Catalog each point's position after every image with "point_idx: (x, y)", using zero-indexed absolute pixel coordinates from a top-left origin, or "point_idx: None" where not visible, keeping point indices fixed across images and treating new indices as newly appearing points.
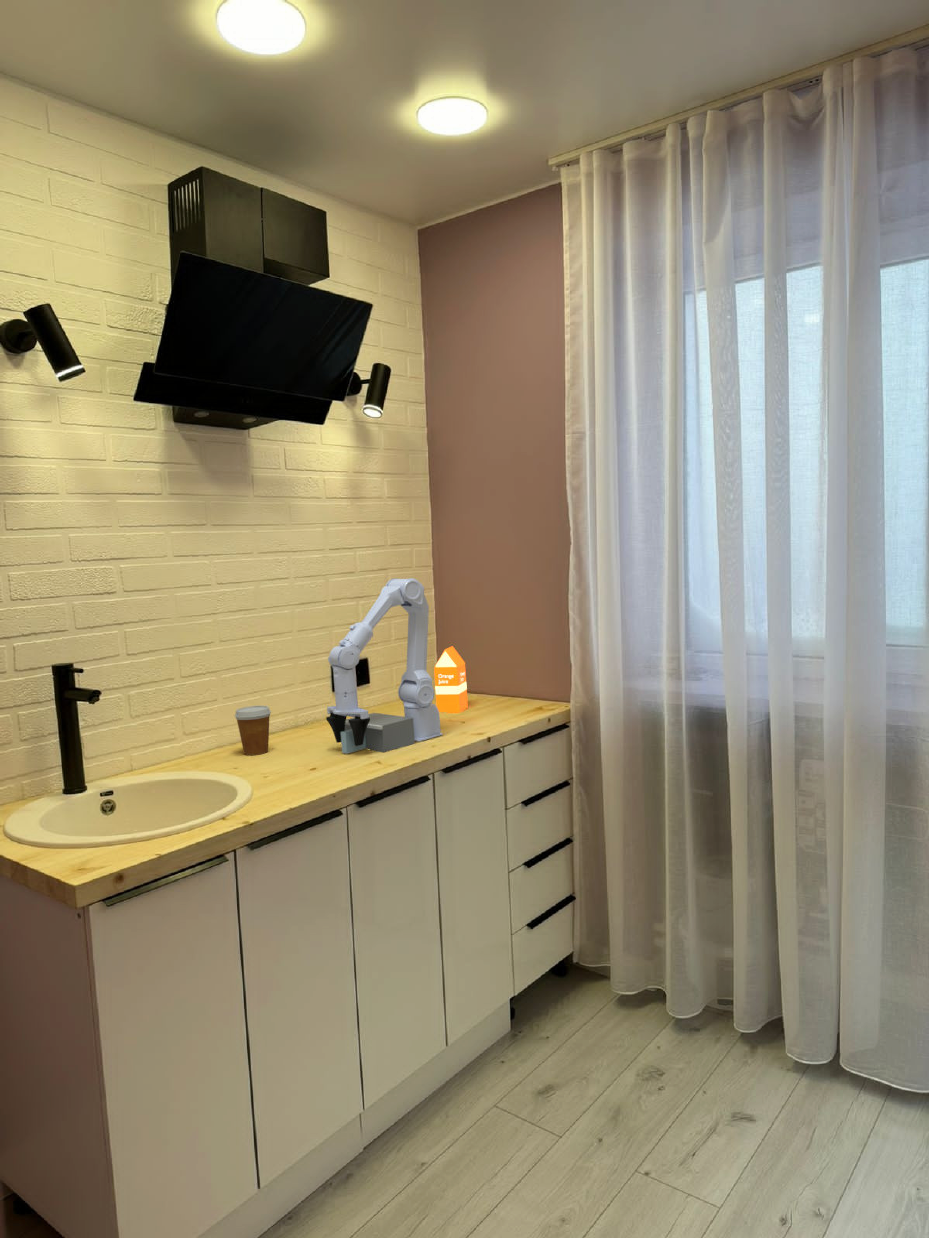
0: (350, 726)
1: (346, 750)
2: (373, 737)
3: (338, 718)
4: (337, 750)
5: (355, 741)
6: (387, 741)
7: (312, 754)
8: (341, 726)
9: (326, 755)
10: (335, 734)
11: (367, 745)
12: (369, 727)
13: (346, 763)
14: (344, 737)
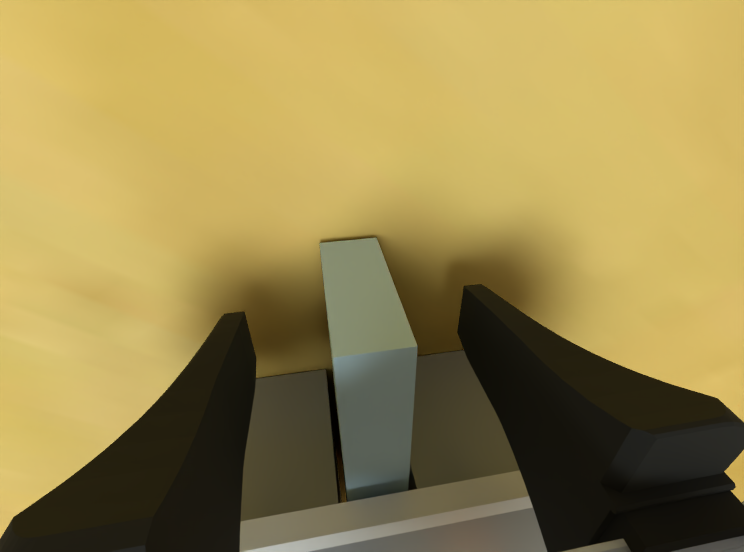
0: (516, 463)
1: (324, 254)
2: (248, 453)
3: (578, 490)
4: (483, 265)
5: (214, 333)
6: None
7: (587, 91)
8: (517, 419)
9: (451, 138)
10: (505, 317)
11: (320, 389)
12: (249, 524)
13: (9, 52)
14: (349, 318)
